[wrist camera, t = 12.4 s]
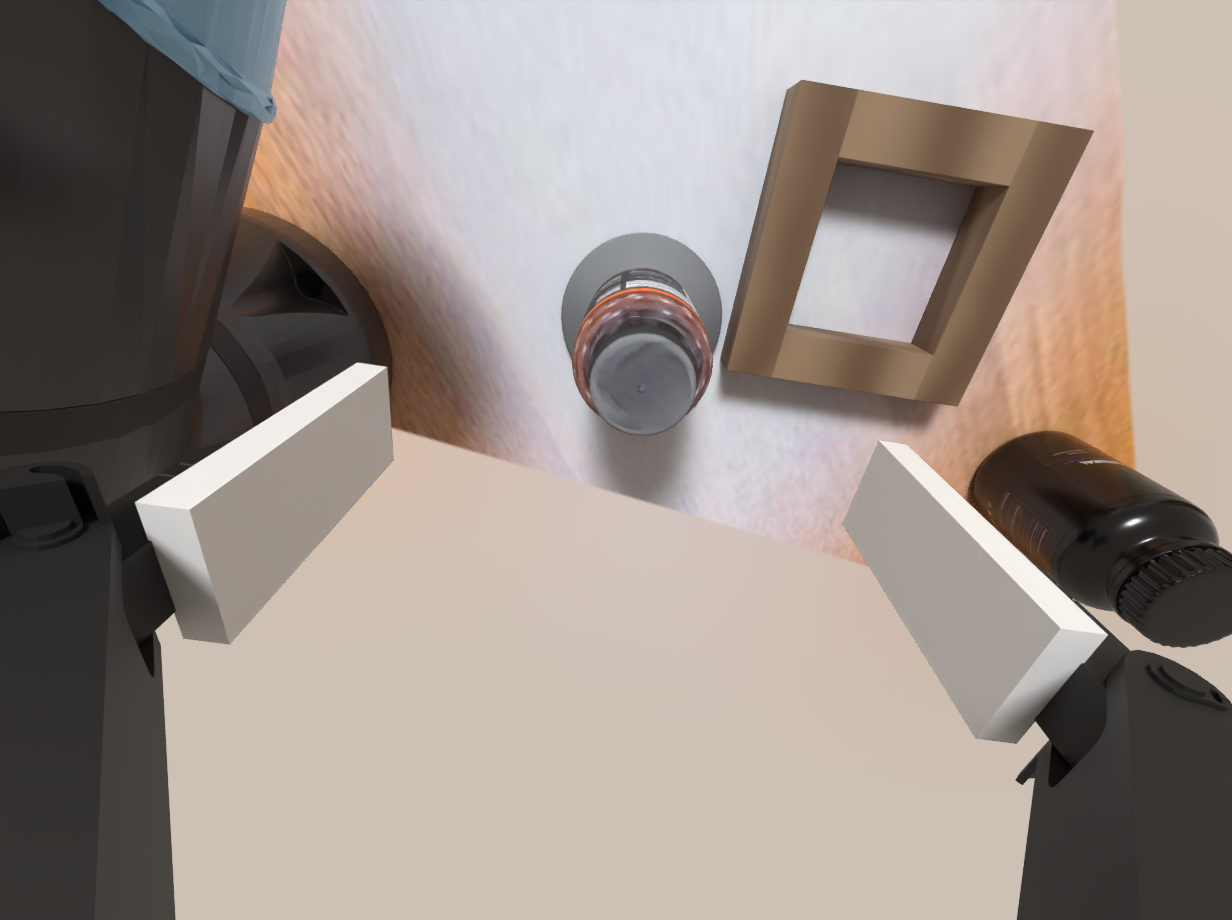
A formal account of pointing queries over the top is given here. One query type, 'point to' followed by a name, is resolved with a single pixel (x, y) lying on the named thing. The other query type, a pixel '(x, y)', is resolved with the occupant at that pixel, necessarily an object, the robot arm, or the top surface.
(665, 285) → the supplement bottle
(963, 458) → the top surface
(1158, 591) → the supplement bottle
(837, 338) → the frame
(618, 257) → the slate coaster
